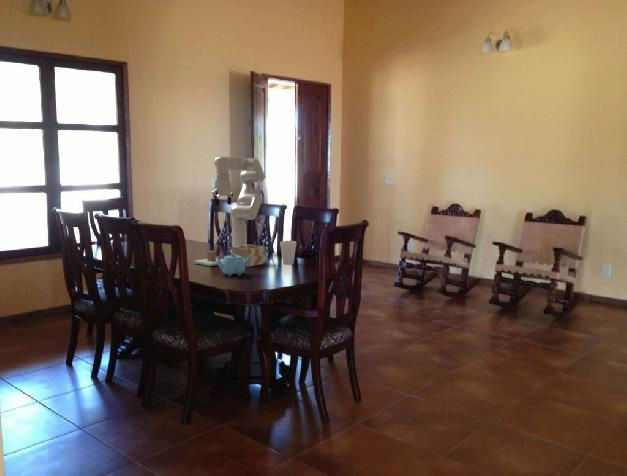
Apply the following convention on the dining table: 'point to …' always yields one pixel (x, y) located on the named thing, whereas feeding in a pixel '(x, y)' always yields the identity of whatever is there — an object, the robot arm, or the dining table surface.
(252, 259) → the box
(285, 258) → the foam cup
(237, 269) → the teapot
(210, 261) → the lid
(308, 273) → the dining table surface
